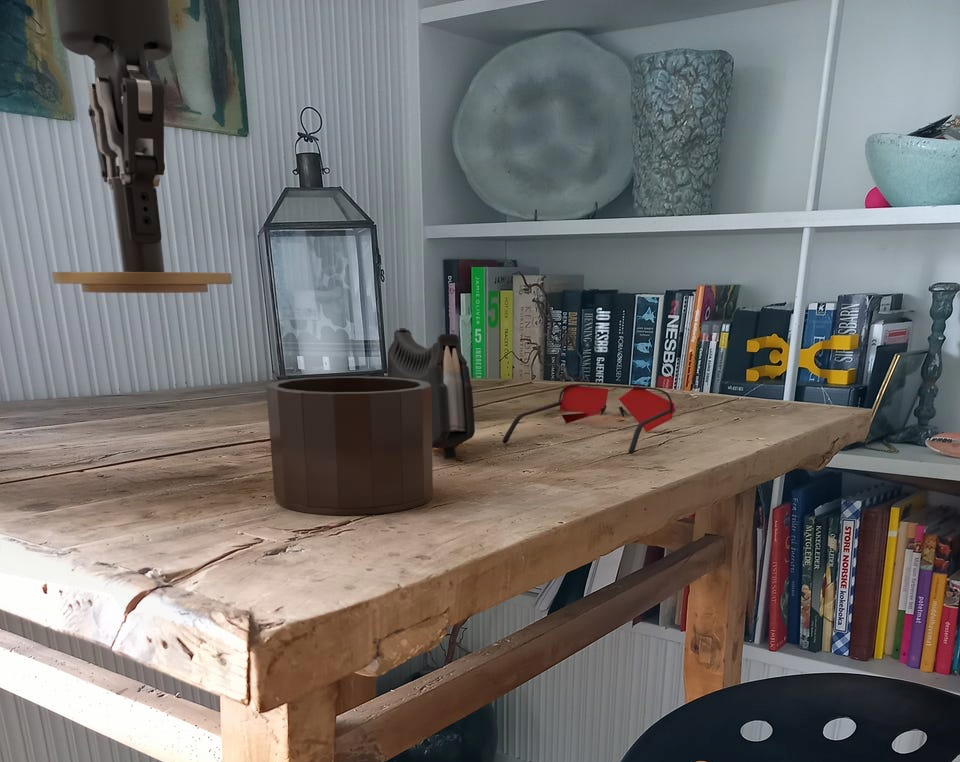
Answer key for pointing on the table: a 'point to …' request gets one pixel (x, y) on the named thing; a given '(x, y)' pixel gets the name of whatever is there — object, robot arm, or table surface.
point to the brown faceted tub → (351, 444)
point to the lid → (139, 266)
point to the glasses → (593, 401)
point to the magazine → (438, 385)
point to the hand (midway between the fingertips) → (140, 242)
